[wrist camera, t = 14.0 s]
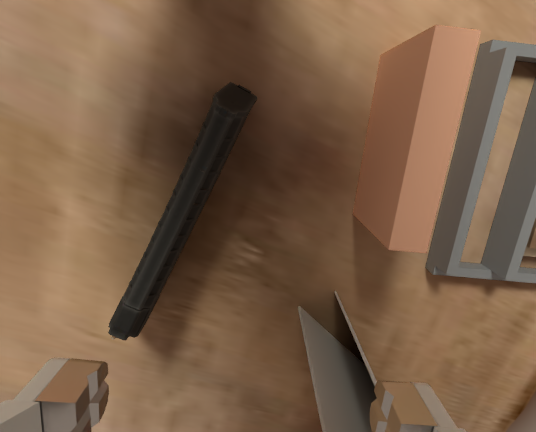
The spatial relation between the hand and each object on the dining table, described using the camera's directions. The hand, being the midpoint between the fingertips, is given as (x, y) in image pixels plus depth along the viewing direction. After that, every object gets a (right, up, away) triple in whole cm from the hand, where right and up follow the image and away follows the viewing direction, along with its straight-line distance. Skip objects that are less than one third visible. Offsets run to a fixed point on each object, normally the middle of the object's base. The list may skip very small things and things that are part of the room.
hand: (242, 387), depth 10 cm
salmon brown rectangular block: (+14, +14, +29) cm, 35 cm away
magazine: (-9, +6, +31) cm, 33 cm away
